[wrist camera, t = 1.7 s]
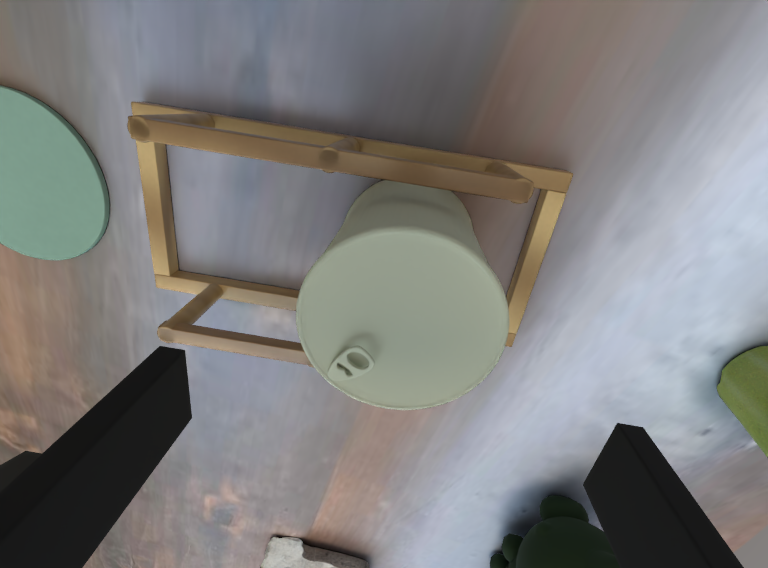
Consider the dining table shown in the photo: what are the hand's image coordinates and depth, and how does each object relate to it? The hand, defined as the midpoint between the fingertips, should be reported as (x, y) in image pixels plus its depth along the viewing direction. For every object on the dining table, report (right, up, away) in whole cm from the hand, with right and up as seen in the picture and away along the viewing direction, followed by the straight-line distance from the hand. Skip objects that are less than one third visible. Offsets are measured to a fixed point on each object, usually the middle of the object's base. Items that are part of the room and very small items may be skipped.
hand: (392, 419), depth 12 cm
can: (+1, +7, +15) cm, 17 cm away
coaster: (-26, +12, +15) cm, 32 cm away
